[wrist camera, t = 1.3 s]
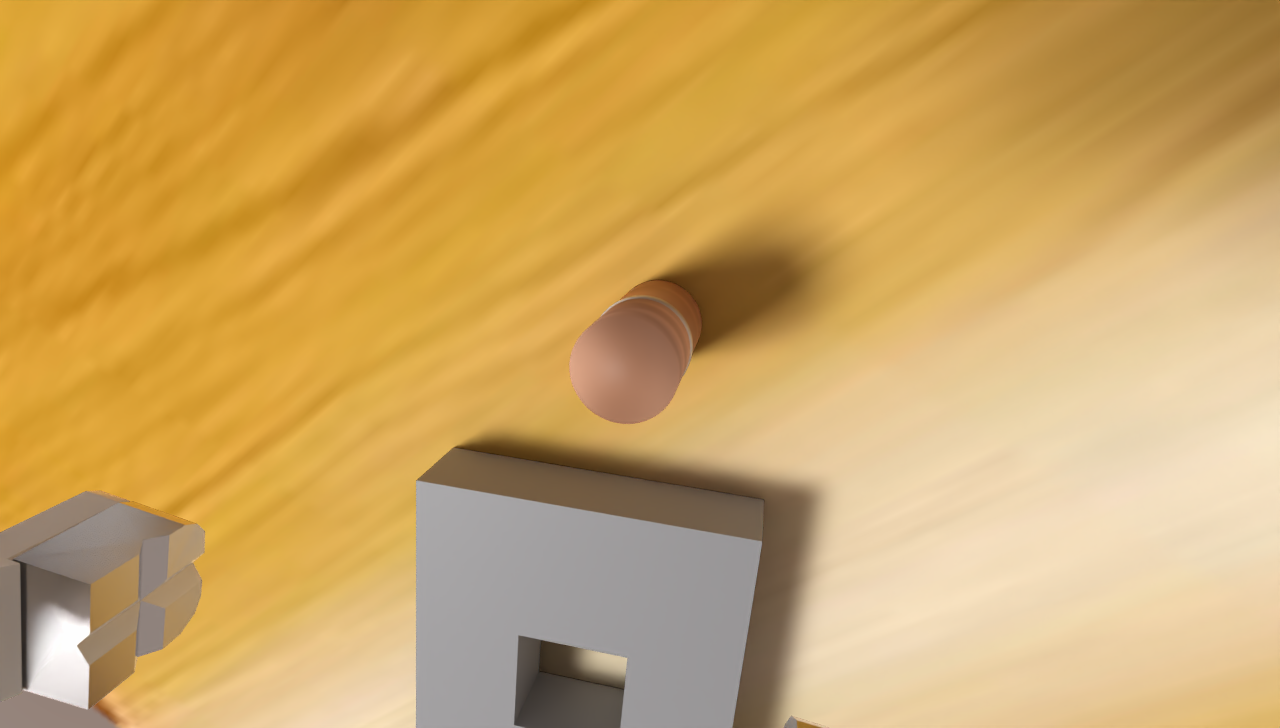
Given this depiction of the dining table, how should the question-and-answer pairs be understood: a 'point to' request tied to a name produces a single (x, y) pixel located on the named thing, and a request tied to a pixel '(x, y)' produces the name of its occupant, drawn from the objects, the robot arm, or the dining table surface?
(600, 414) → the terracotta peg
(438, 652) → the gray board
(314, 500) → the dining table surface
